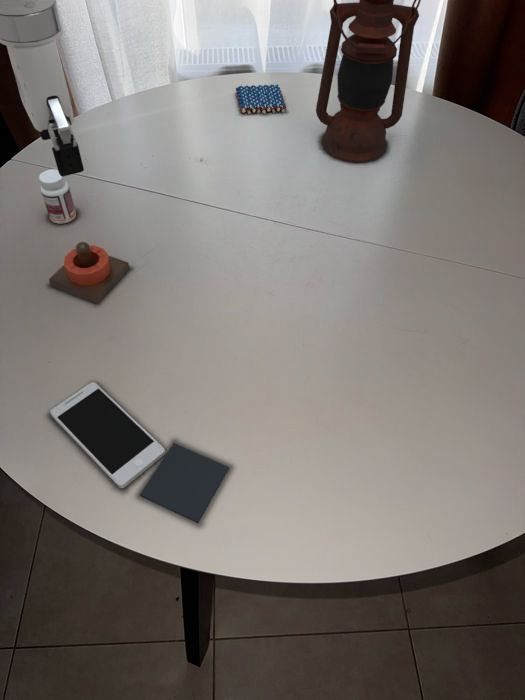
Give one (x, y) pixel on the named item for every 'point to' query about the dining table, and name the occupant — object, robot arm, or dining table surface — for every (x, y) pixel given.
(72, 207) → the pill bottle
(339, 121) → the lantern
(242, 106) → the blue beaded mat
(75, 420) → the smartphone
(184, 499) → the coaster
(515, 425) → the dining table surface
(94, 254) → the ring
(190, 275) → the dining table surface
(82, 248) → the ring holder
